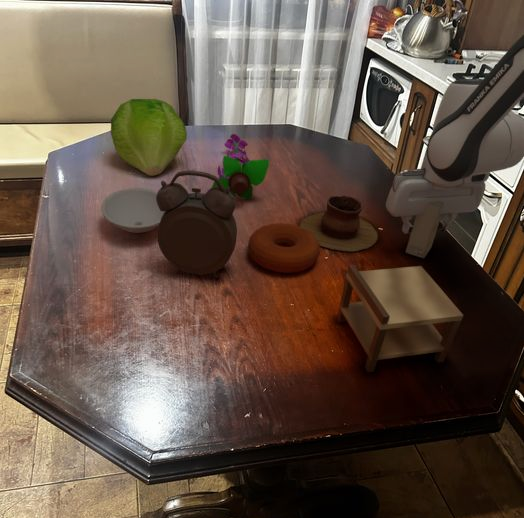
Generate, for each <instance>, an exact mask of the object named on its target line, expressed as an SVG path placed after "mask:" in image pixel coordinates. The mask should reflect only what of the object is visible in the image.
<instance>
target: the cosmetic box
mask: <svg viewBox="0 0 524 518" xmlns="http://www.w3.org/2000/svg"><path fill="white" fill-rule="evenodd" d="M443 204H444V203H429V204H428V206H427V210H426V213H425V214H424V215H415V218H414V221H413V224H412V225H413V226H414V227H413V230H412V233H410V235H409V239H408V242H407V244H406V245H407V246H406V249H405V253H406V254H408V255H411V256H414V257H418V258H420V259H425V258H426V256H427V254H428V253H429V252H430V250H431V248H432V246H433V243H434V240H435V238H436V235H437V231H438V229H437V228H438V225H439V222H440V221H441V220H442V215H443V214H440V213H441V209H442V207H443Z"/></svg>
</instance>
